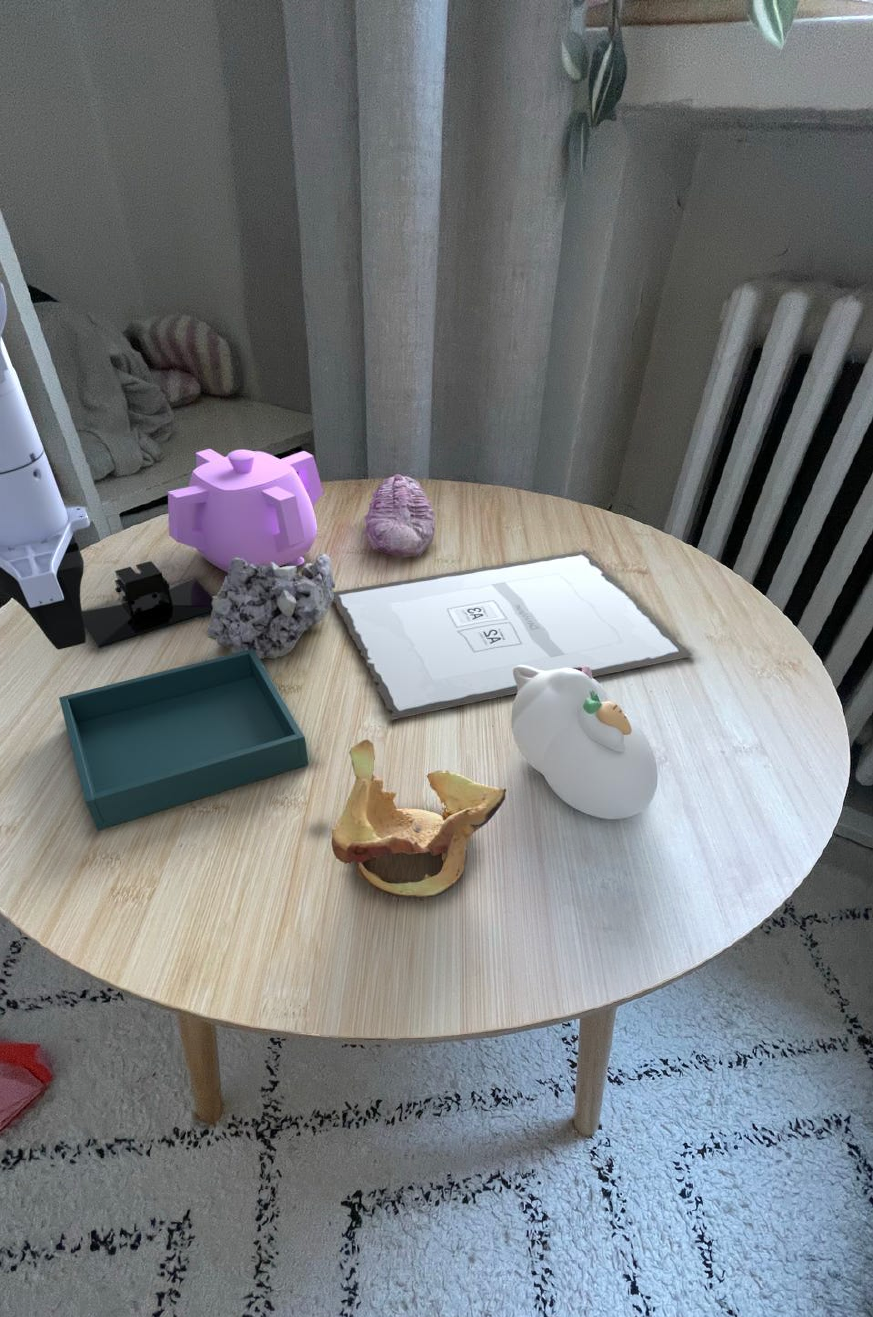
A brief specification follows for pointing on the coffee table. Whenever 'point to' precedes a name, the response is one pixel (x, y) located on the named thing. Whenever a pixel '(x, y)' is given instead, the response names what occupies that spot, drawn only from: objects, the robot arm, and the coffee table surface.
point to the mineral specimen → (270, 605)
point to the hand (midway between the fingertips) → (70, 641)
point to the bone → (411, 824)
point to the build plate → (145, 606)
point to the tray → (179, 736)
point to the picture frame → (497, 630)
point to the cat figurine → (582, 742)
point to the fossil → (400, 518)
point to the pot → (248, 508)
